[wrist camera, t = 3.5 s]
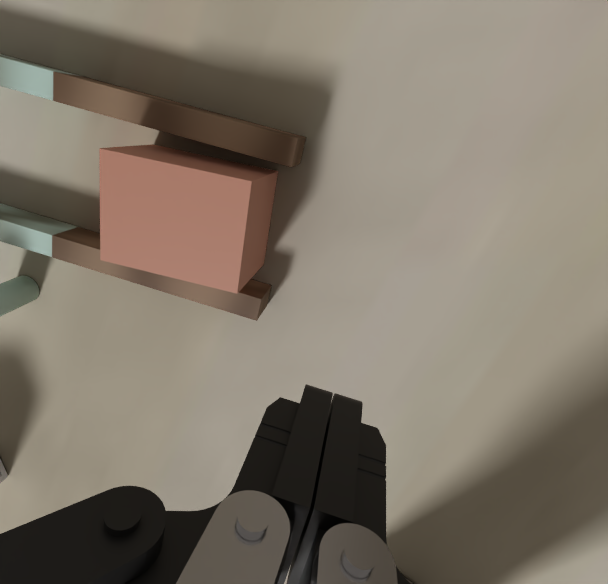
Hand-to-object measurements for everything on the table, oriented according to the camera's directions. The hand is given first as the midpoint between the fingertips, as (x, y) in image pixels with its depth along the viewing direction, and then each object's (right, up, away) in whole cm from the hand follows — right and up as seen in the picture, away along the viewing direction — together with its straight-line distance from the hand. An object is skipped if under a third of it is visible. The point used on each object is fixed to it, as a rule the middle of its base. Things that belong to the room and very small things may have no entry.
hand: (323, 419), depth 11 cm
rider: (-6, +9, +16) cm, 19 cm away
